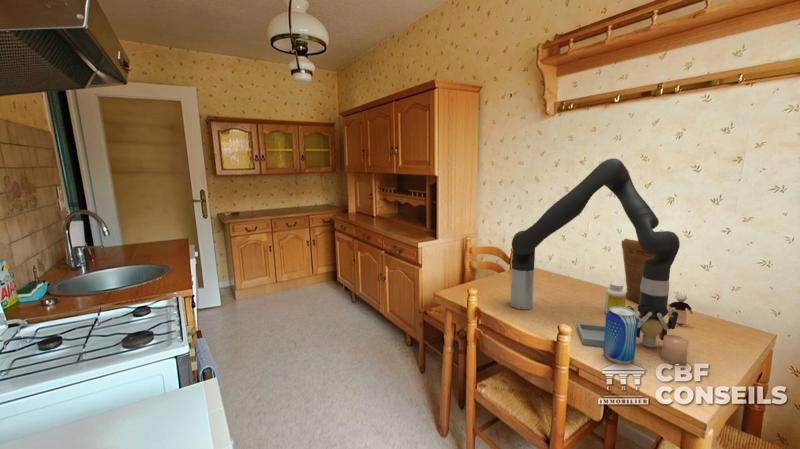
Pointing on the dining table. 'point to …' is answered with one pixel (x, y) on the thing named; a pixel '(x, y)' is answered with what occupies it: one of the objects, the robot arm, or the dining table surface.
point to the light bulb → (651, 332)
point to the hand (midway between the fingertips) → (649, 337)
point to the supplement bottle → (615, 296)
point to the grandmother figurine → (680, 309)
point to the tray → (591, 334)
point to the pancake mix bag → (634, 267)
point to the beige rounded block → (674, 349)
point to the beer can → (620, 335)
